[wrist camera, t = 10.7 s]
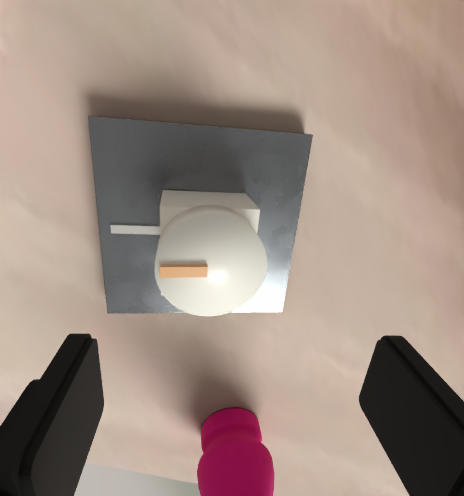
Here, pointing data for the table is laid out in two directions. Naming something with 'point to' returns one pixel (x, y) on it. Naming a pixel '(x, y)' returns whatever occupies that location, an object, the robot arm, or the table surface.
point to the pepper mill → (234, 456)
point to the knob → (209, 251)
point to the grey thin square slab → (190, 179)
